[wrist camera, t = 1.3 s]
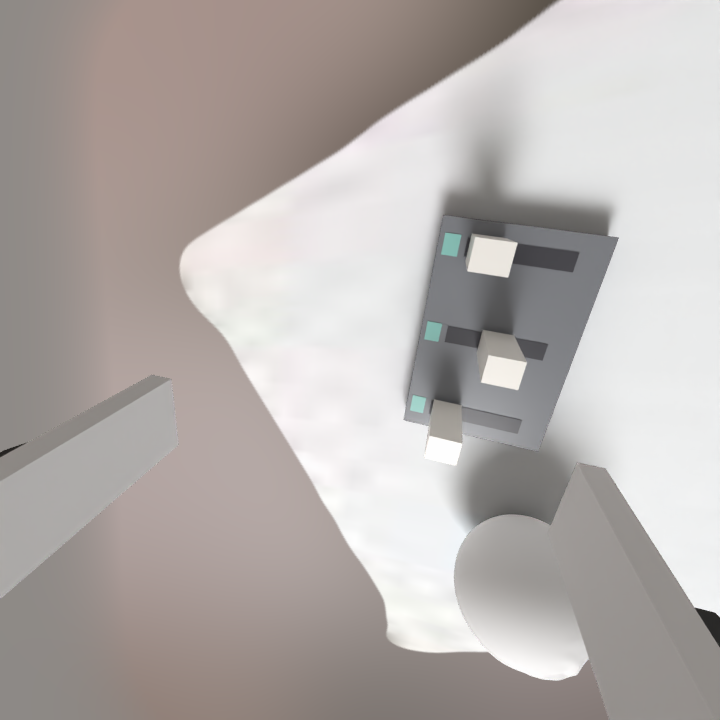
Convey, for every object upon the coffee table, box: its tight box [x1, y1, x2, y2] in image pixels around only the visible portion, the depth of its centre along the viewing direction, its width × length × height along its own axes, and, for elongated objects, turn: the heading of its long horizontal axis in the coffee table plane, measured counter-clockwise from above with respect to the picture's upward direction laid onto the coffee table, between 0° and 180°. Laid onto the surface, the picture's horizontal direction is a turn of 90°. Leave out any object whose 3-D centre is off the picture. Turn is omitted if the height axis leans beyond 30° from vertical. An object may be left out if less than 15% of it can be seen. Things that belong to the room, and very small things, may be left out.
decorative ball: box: [454, 514, 589, 680], centre depth 33 cm, size 12×12×12 cm
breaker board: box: [404, 215, 619, 452], centre depth 30 cm, size 12×18×2 cm, turn 173°
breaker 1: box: [424, 399, 462, 466], centre depth 30 cm, size 2×2×6 cm
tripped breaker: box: [477, 330, 527, 390], centre depth 26 cm, size 2×2×6 cm
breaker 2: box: [466, 234, 518, 278], centre depth 24 cm, size 2×2×6 cm
